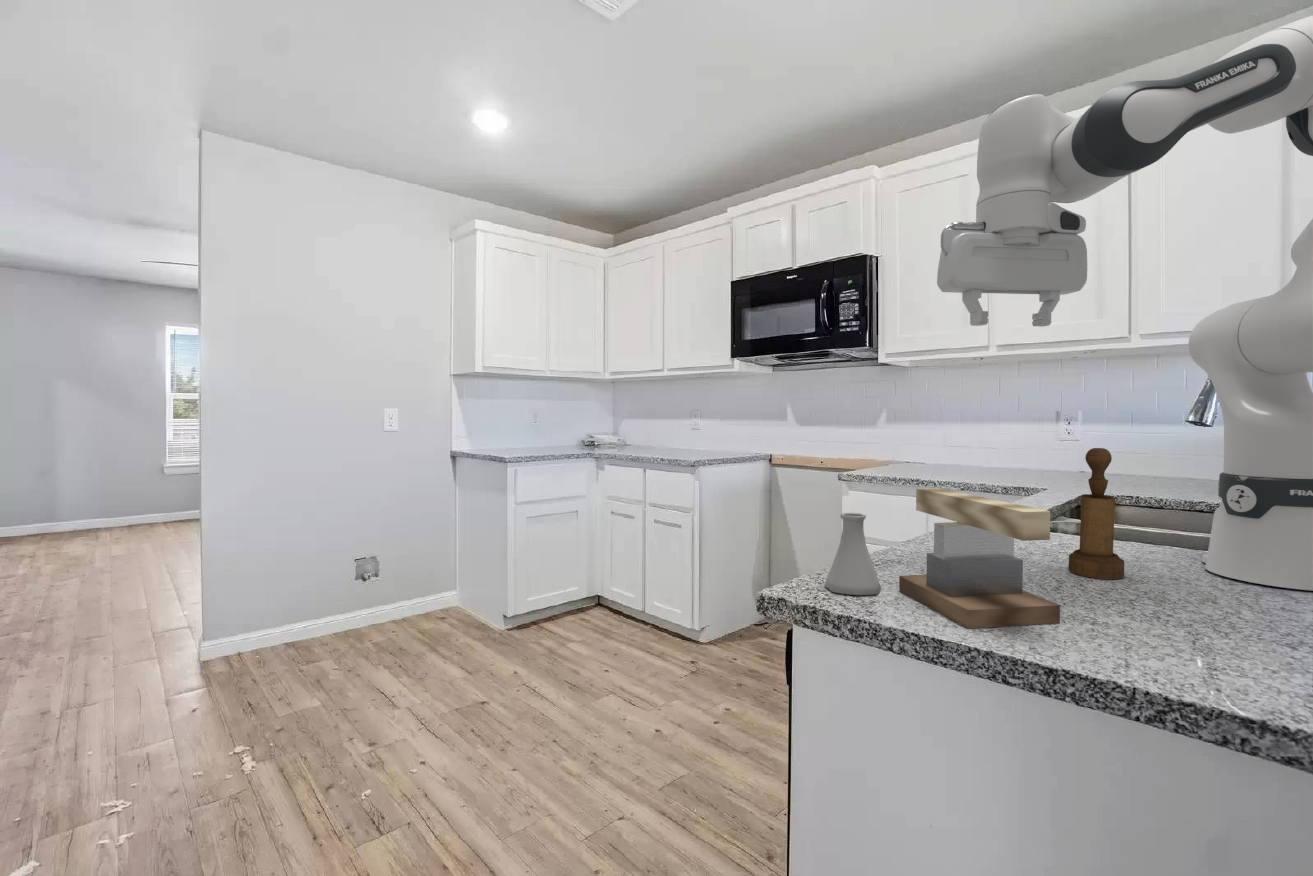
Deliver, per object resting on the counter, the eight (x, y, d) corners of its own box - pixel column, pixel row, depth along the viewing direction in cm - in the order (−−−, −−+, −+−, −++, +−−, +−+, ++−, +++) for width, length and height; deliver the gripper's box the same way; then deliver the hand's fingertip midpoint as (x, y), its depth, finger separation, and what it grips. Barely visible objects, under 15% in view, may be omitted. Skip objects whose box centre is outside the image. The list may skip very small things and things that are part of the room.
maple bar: (1049, 539, 64) (1050, 511, 63) (1023, 540, 63) (1024, 512, 63) (936, 509, 83) (936, 487, 83) (916, 510, 83) (916, 488, 83)
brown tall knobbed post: (1124, 582, 83) (1127, 450, 82) (1066, 575, 87) (1069, 448, 86) (1123, 572, 88) (1127, 447, 88) (1069, 565, 92) (1072, 446, 91)
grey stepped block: (993, 581, 77) (994, 518, 76) (1022, 593, 72) (1023, 525, 71) (926, 585, 75) (927, 520, 75) (951, 597, 70) (952, 528, 70)
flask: (886, 598, 77) (886, 519, 76) (826, 595, 78) (826, 518, 78) (876, 583, 84) (877, 510, 83) (822, 580, 85) (822, 509, 85)
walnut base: (976, 587, 81) (977, 572, 81) (1059, 623, 67) (1060, 605, 67) (899, 591, 80) (899, 575, 80) (968, 628, 66) (968, 610, 66)
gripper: (956, 213, 79) (954, 321, 80) (1097, 219, 82) (1095, 323, 82) (928, 228, 85) (927, 327, 86) (1060, 232, 88) (1058, 329, 89)
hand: (1010, 325), depth 84 cm, fingers open, 8 cm apart
